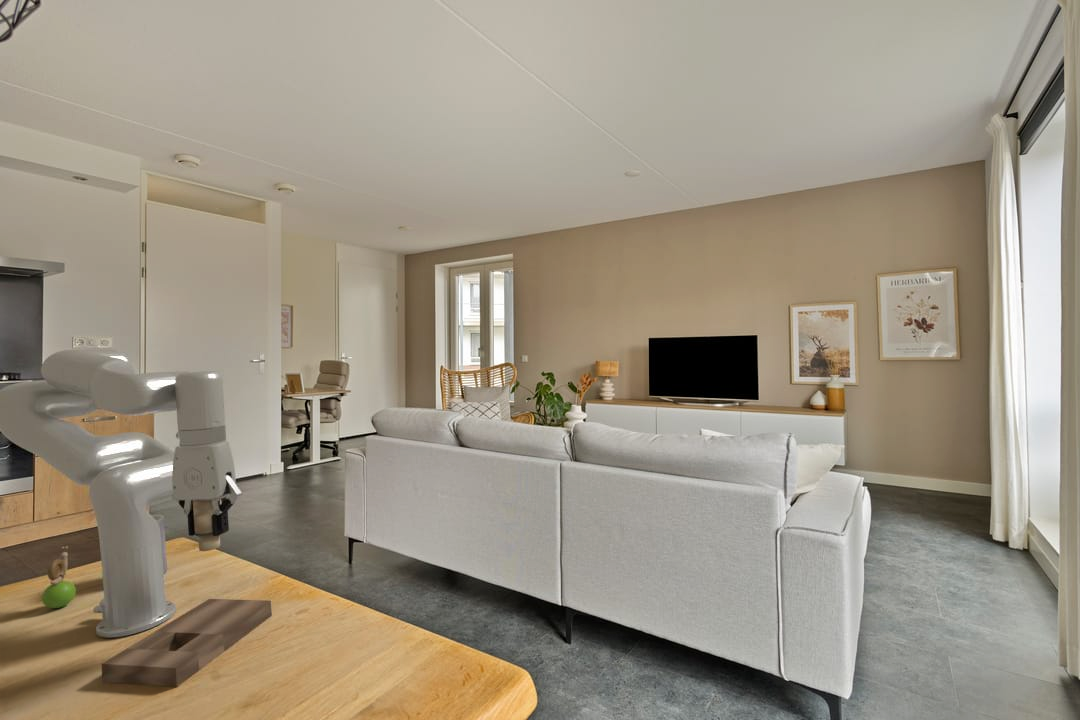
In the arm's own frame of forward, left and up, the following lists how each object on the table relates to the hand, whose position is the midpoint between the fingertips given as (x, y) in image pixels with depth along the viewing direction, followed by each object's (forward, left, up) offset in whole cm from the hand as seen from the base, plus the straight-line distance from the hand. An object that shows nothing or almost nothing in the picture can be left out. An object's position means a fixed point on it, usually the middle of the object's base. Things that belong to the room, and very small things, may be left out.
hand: (209, 532), depth 99 cm
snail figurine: (-45, +7, -19) cm, 49 cm away
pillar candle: (-40, +22, -19) cm, 49 cm away
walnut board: (0, -5, -19) cm, 19 cm away
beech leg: (0, 0, -3) cm, 3 cm away
